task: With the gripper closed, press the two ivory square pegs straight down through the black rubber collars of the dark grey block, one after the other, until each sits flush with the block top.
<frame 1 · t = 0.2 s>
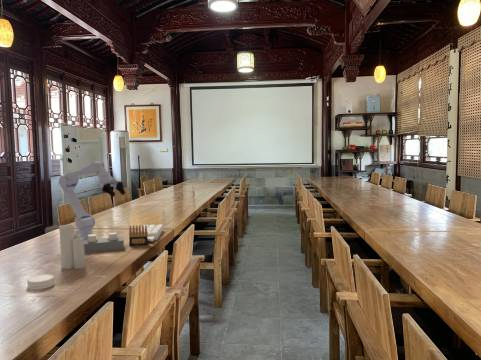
hand: (119, 194, 213), 31 cm above the table, tool tilted 45°, fingers open, 7 cm apart
organizer: (148, 237, 243), on the table
ammunition clip: (138, 245, 223), on the table
block: (103, 249, 215), on the table
peg left: (92, 239, 212), point 6 cm above the table, slide at 0.0 cm
peg right: (112, 237, 216), point 6 cm above the table, slide at 0.0 cm
coaster: (41, 286, 158), on the table
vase: (74, 267, 183), on the table
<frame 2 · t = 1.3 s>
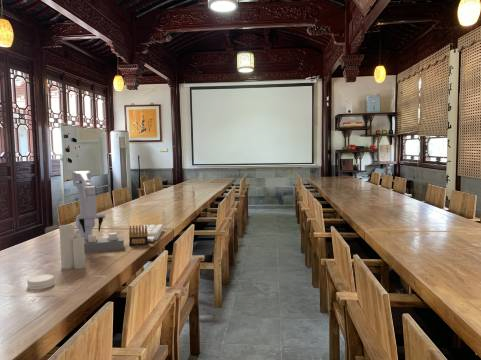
hand: (91, 231, 212), 10 cm above the table, tool pointing down, fingers open, 7 cm apart
nothing on the table moved.
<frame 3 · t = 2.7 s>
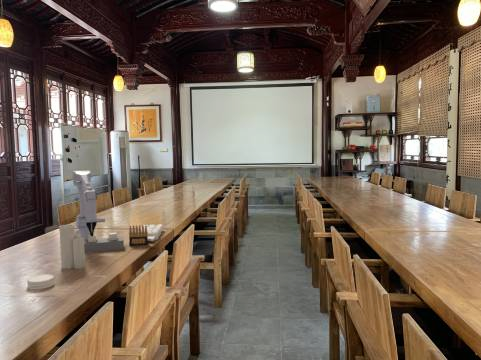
hand: (92, 235, 212), 8 cm above the table, tool pointing down, fingers closed, pressing on peg left
peg left: (92, 239, 212), point 6 cm above the table, slide at 0.3 cm, touching gripper
everything else where it was.
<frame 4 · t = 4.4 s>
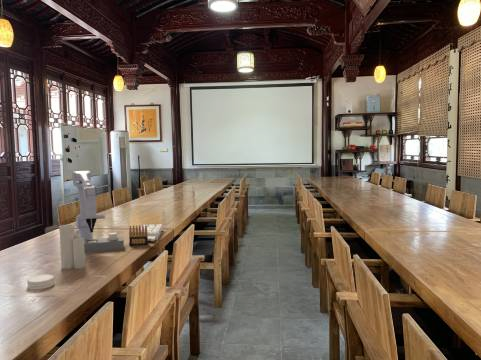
hand: (91, 232, 212), 10 cm above the table, tool pointing down, fingers closed
peg left: (92, 245, 212), point 2 cm above the table, slide at 3.8 cm
everything else where it was.
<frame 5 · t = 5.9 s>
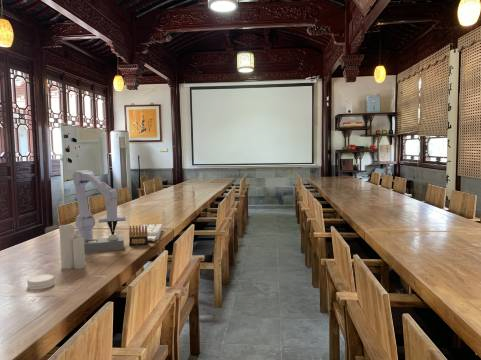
hand: (112, 234, 216), 8 cm above the table, tool pointing down, fingers closed, pressing on peg right
peg right: (112, 238, 216), point 6 cm above the table, slide at 0.5 cm, touching gripper
everything else where it was.
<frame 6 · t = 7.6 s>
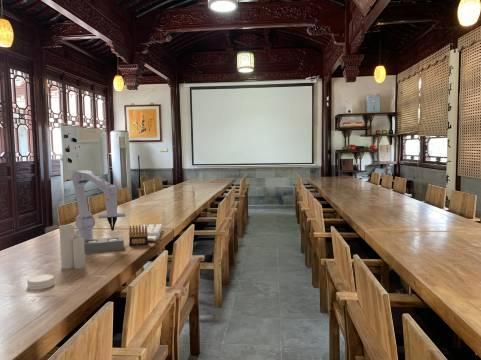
hand: (112, 230, 216), 10 cm above the table, tool pointing down, fingers closed
peg right: (113, 243, 216), point 2 cm above the table, slide at 3.8 cm
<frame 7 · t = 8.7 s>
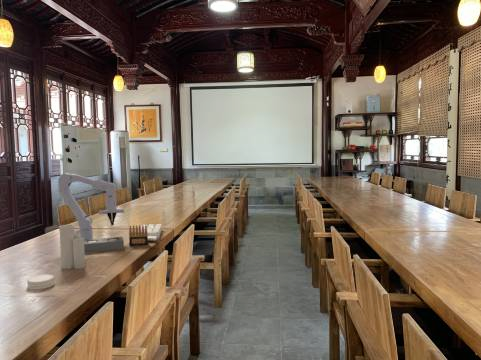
hand: (112, 225, 230), 10 cm above the table, tool pointing down, fingers closed
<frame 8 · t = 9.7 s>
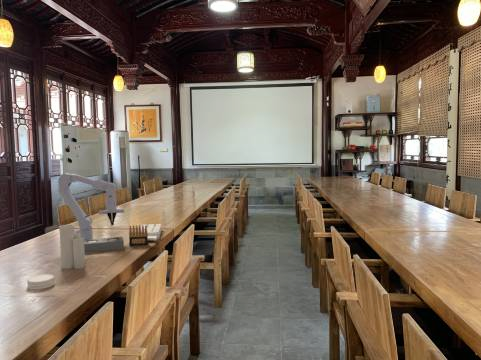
hand: (112, 225, 230), 10 cm above the table, tool pointing down, fingers closed
at the end: peg left slide at 3.8 cm; peg right slide at 3.8 cm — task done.
